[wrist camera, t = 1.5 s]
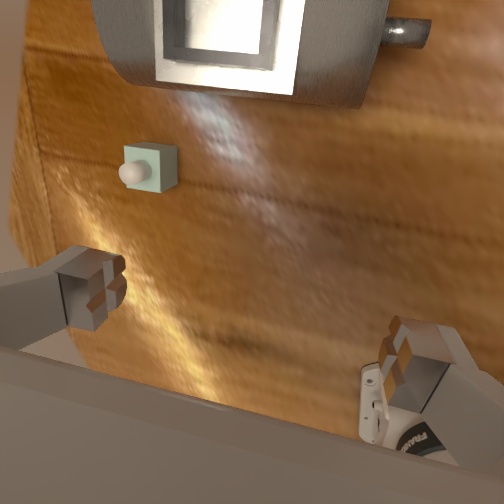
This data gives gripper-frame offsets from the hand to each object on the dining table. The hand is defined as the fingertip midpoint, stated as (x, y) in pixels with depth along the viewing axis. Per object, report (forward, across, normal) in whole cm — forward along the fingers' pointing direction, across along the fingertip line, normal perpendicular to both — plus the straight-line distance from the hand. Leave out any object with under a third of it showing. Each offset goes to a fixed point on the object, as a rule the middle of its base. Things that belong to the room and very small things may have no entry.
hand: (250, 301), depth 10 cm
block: (+33, +18, +5) cm, 38 cm away
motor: (+33, +5, -10) cm, 35 cm away
